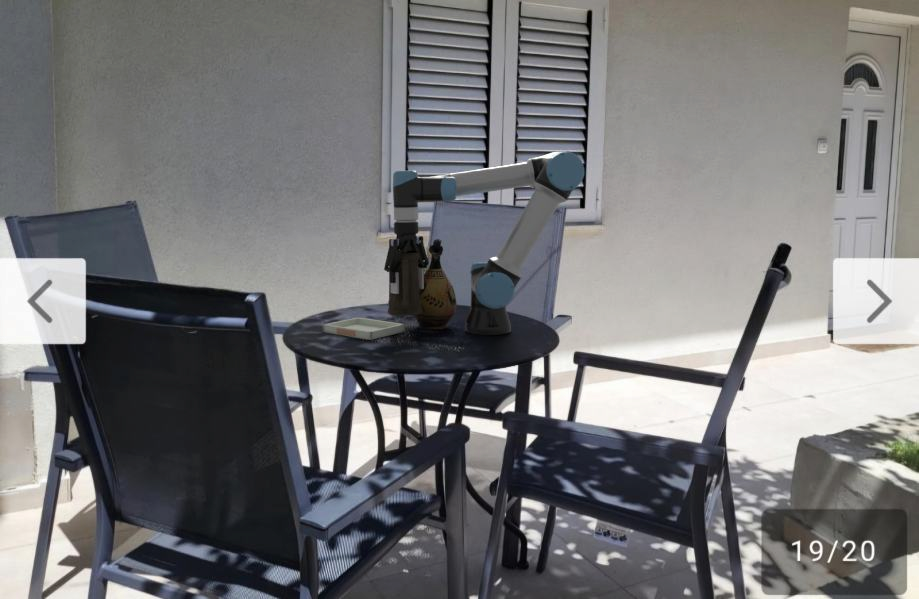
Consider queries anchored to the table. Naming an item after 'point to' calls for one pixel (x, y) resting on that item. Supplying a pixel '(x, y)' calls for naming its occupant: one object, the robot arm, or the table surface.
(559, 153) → the robot arm
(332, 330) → the tray
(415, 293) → the beer stein
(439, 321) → the ceramic jug
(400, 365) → the table surface
